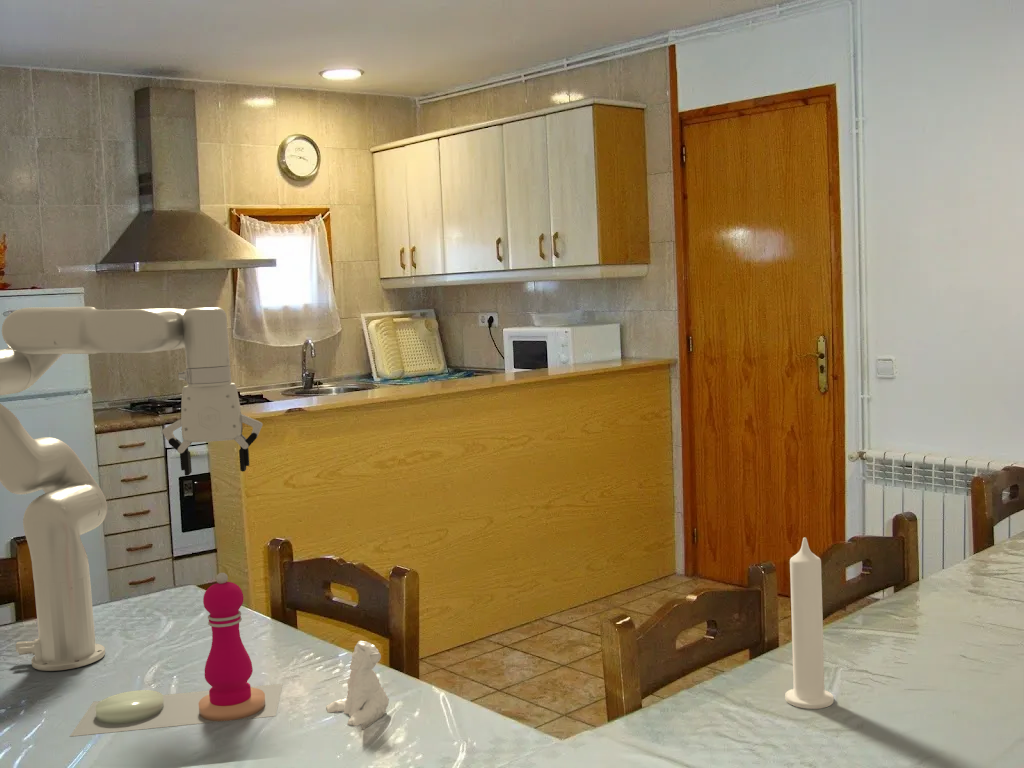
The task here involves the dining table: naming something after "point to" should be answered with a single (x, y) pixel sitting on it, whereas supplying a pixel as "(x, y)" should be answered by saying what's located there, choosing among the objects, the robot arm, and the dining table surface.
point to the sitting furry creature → (363, 688)
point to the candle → (807, 632)
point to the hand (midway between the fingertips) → (216, 472)
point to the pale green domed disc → (129, 707)
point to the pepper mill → (226, 645)
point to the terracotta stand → (232, 707)
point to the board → (173, 713)
